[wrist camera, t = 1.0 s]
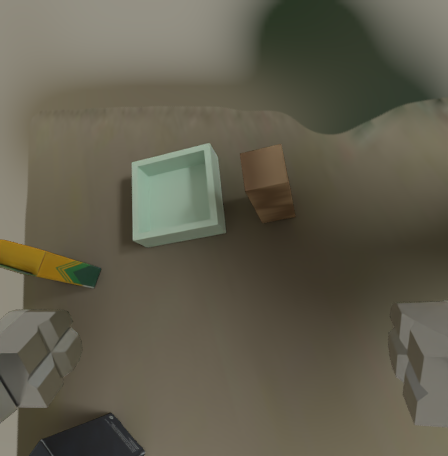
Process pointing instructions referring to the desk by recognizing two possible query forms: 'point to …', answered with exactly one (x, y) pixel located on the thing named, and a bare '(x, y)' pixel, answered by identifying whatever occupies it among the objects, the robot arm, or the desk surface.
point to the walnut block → (268, 183)
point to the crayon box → (46, 265)
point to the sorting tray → (177, 197)
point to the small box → (91, 440)
